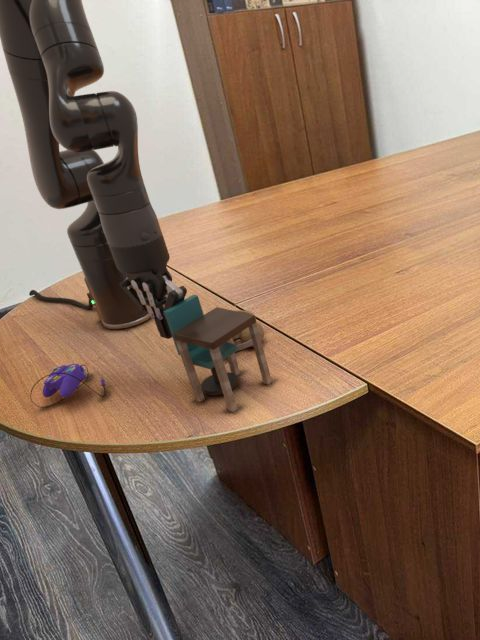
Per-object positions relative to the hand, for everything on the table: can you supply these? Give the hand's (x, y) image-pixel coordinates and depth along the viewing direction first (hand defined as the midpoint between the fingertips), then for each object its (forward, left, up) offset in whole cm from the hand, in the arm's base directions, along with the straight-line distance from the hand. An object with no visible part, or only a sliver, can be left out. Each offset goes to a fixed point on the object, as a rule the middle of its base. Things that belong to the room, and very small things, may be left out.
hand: (169, 335), depth 106 cm
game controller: (-13, -10, -8) cm, 19 cm away
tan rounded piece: (0, +12, -8) cm, 14 cm away
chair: (+8, 0, -8) cm, 12 cm away
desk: (+11, 0, -8) cm, 14 cm away
